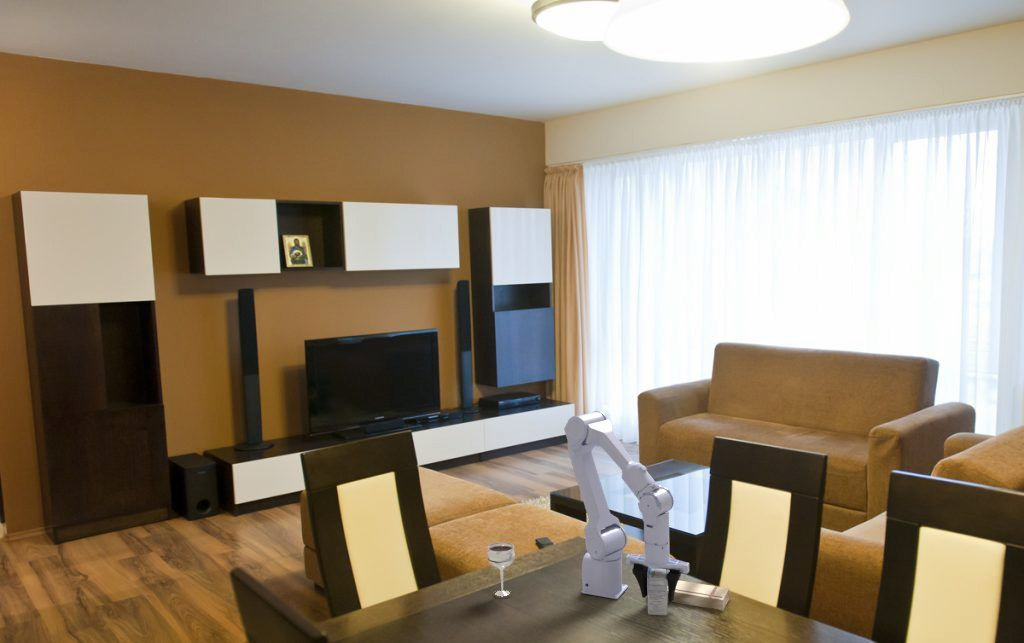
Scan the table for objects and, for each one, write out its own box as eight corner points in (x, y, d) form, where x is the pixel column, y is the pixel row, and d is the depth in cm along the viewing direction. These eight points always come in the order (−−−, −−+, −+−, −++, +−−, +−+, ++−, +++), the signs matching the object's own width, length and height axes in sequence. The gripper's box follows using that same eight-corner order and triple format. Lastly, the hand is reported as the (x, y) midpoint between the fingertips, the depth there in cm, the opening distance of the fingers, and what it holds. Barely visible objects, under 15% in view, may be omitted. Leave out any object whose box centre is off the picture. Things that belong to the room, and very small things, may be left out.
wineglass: (510, 601, 184) (508, 553, 183) (484, 598, 187) (482, 550, 186) (520, 590, 190) (518, 543, 190) (495, 587, 193) (493, 540, 192)
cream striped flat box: (647, 597, 184) (647, 586, 184) (655, 586, 190) (655, 576, 190) (723, 610, 176) (722, 599, 176) (729, 598, 182) (729, 587, 182)
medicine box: (667, 616, 174) (667, 579, 173) (647, 615, 175) (647, 578, 174) (667, 601, 182) (667, 566, 181) (648, 600, 182) (648, 564, 182)
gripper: (621, 542, 177) (622, 599, 178) (683, 551, 170) (684, 610, 171) (630, 532, 183) (632, 588, 184) (691, 541, 176) (692, 598, 177)
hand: (657, 598), depth 178 cm, fingers closed on medicine box, 6 cm apart
